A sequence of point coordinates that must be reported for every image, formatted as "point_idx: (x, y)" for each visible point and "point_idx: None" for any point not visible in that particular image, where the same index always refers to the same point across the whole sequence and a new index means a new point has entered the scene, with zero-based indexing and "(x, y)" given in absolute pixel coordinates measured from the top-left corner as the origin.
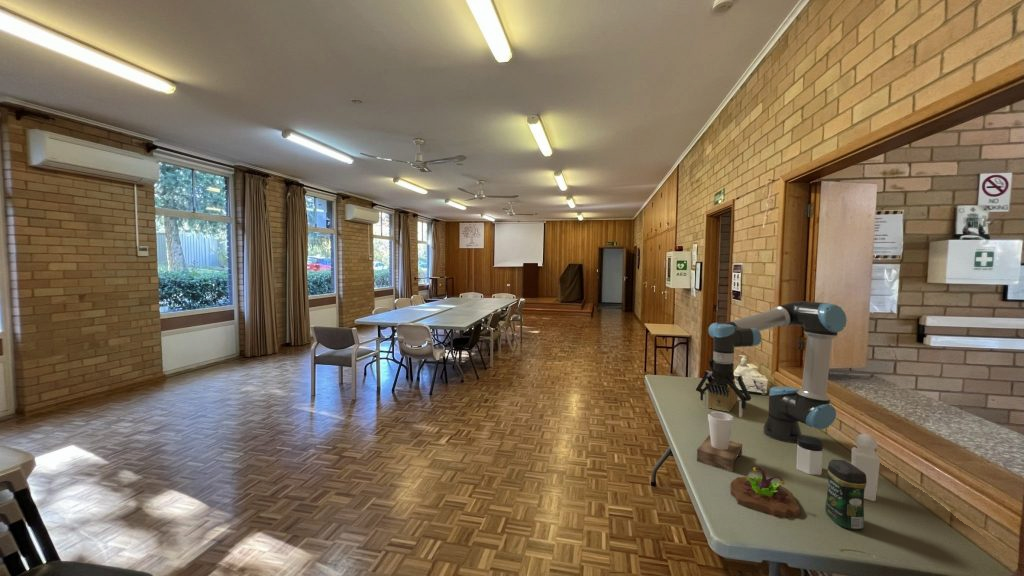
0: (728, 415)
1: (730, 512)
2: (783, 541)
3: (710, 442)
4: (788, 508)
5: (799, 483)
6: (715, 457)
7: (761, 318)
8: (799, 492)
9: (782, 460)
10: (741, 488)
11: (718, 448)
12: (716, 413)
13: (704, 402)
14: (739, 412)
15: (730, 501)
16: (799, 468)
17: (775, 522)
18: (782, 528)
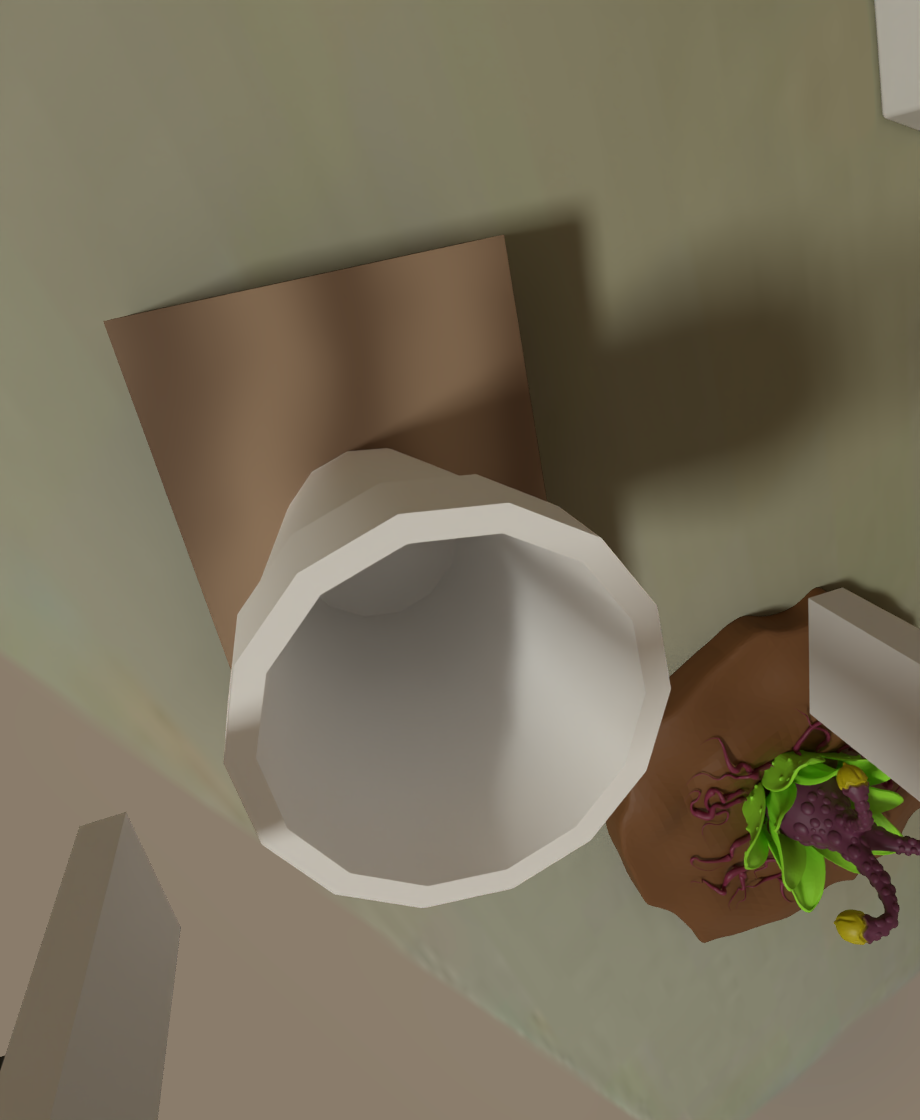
0: (529, 540)
1: (683, 1001)
2: (882, 971)
3: (256, 529)
4: (909, 817)
5: (908, 384)
6: None
7: None
8: (912, 516)
9: (767, 3)
10: (694, 863)
11: (400, 611)
12: (305, 610)
13: (153, 1091)
14: (883, 766)
15: (653, 933)
16: (912, 120)
17: (845, 895)
18: (872, 906)
